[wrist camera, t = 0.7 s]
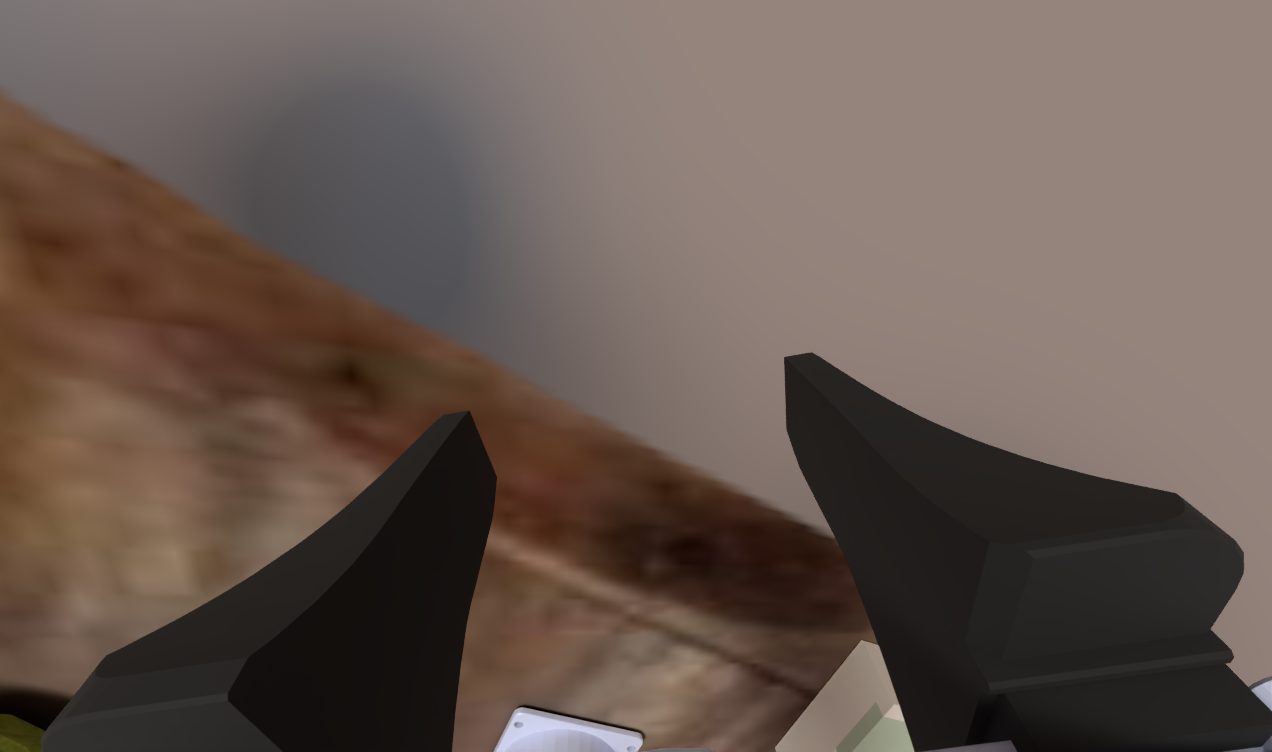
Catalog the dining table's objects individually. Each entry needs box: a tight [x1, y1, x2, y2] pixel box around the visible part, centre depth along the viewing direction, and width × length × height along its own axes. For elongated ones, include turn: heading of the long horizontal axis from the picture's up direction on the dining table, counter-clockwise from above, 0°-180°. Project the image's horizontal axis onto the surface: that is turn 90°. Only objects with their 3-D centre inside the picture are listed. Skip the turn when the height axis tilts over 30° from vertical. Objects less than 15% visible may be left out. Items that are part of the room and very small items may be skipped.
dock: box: [775, 640, 914, 752], centre depth 32 cm, size 10×9×4 cm
